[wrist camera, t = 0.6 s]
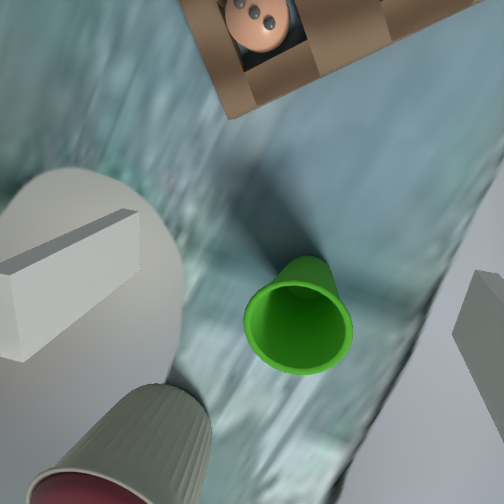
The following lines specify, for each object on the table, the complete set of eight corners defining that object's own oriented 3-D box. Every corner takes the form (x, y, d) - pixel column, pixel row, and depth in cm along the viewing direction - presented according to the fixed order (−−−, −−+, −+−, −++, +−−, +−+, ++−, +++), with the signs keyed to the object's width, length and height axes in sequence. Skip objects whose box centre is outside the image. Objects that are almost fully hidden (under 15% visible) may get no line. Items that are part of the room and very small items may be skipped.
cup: (282, 224, 39) (260, 263, 29) (364, 255, 38) (372, 306, 28) (257, 295, 43) (230, 351, 33) (332, 324, 42) (328, 391, 32)
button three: (226, 6, 32) (214, -4, 29) (277, -24, 30) (270, -39, 27) (248, 63, 33) (239, 58, 30) (299, 36, 32) (294, 29, 29)
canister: (228, 477, 54) (164, 677, 35) (116, 445, 58) (2, 611, 38) (238, 378, 48) (166, 558, 29) (110, 348, 51) (-31, 491, 32)
